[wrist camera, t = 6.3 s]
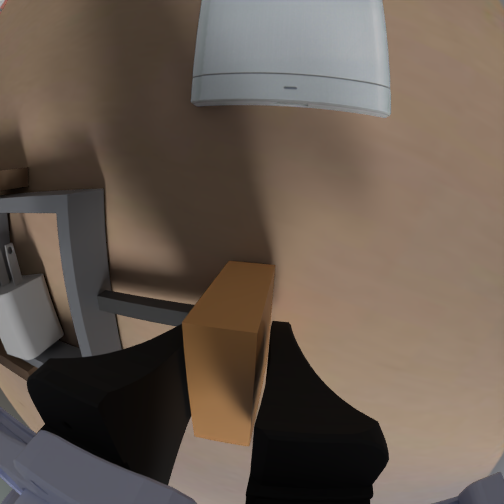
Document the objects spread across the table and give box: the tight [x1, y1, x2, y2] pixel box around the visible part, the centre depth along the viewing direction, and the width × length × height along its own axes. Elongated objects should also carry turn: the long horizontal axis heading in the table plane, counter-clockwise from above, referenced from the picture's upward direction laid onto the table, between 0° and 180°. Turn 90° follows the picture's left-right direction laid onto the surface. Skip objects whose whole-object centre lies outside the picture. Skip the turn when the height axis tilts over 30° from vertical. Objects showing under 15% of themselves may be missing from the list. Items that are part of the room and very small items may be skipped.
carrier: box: [0, 189, 275, 446], centre depth 12 cm, size 11×19×6 cm, turn 87°
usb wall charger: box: [0, 243, 64, 360], centre depth 14 cm, size 4×7×4 cm, turn 8°
